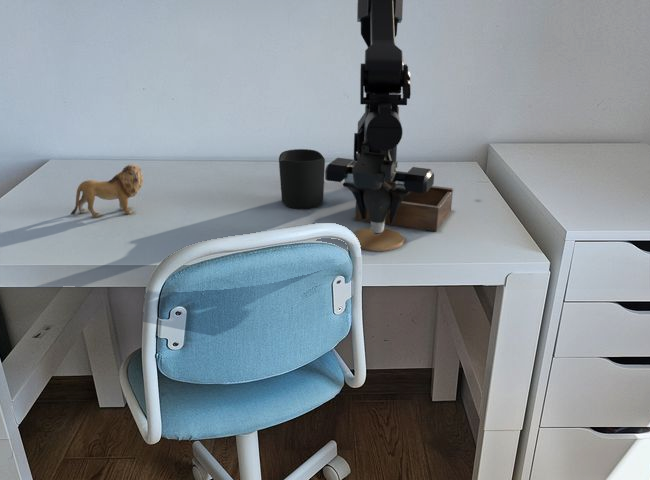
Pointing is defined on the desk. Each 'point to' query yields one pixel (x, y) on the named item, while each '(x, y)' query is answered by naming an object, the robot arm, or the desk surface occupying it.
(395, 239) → the coaster
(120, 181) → the lion figurine
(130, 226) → the desk surface
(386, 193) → the light bulb
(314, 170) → the pen holder
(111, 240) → the desk surface
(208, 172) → the desk surface
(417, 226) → the wooden cubby shelf
